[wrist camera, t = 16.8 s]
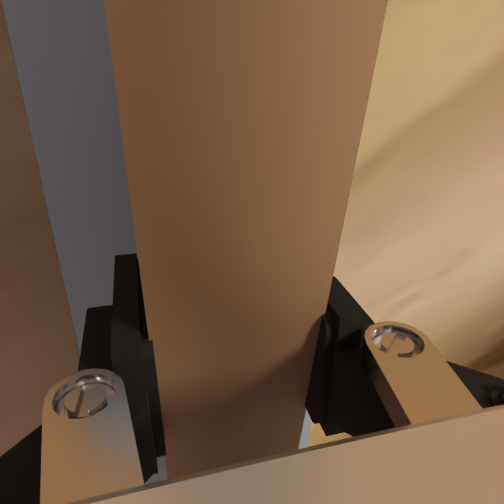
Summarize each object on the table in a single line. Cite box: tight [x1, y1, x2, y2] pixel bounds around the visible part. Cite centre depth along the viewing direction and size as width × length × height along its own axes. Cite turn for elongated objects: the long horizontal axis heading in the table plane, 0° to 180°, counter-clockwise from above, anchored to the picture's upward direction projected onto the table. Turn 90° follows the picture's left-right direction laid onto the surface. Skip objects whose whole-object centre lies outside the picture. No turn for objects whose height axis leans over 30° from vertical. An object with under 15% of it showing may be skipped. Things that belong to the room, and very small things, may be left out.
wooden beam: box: [104, 0, 388, 479], centre depth 11 cm, size 3×22×4 cm, turn 0°
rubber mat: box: [1, 0, 311, 485], centre depth 15 cm, size 9×24×1 cm, turn 0°
